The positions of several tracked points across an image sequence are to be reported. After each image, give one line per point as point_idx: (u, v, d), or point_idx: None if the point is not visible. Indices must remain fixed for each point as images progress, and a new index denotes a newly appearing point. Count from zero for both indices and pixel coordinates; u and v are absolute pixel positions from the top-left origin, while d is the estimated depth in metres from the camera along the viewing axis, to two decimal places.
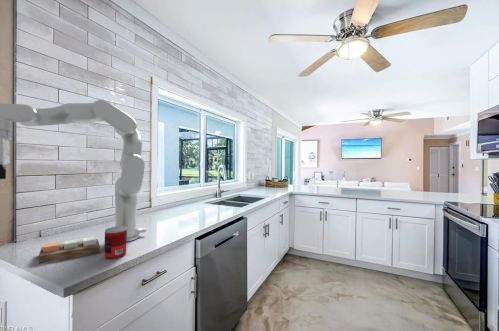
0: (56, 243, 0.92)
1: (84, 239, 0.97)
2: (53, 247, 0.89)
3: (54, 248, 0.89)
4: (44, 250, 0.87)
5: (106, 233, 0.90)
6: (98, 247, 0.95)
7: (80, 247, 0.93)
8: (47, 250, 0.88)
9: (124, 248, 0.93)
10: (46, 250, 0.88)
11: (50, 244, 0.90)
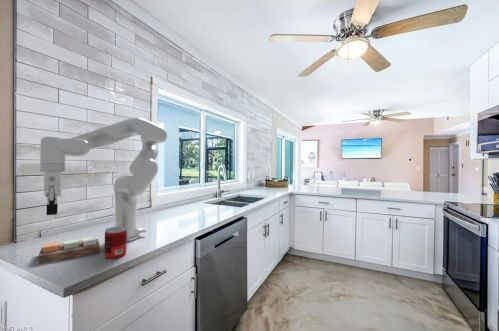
0: (56, 243, 0.92)
1: (84, 239, 0.97)
2: (53, 247, 0.89)
3: (54, 248, 0.89)
4: (44, 250, 0.87)
5: (106, 233, 0.90)
6: (98, 247, 0.95)
7: (80, 247, 0.93)
8: (47, 250, 0.88)
9: (124, 248, 0.93)
10: (46, 250, 0.88)
11: (50, 244, 0.90)
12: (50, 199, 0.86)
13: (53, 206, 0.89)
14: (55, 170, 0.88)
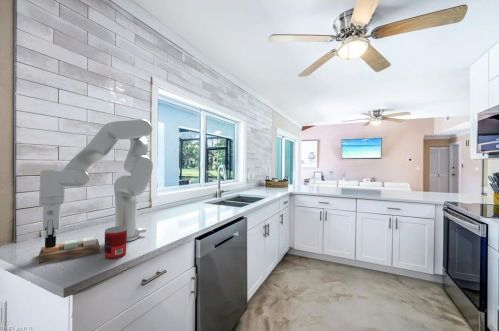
0: (56, 245, 0.92)
1: (84, 239, 0.97)
2: (53, 249, 0.89)
3: (54, 250, 0.89)
4: (44, 252, 0.87)
5: (106, 233, 0.90)
6: (98, 247, 0.95)
7: (80, 247, 0.93)
8: None
9: (124, 248, 0.93)
10: None
11: None
12: (49, 233, 0.86)
13: (51, 239, 0.89)
14: (54, 203, 0.88)
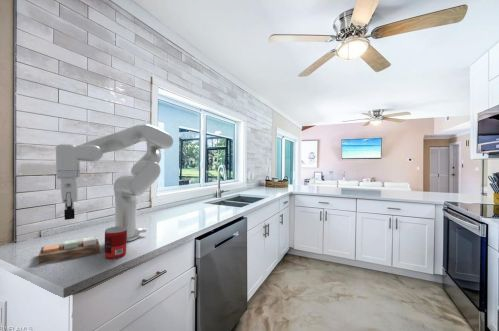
0: (56, 246, 0.92)
1: (84, 239, 0.97)
2: (53, 250, 0.89)
3: (54, 250, 0.89)
4: None
5: (106, 233, 0.90)
6: (98, 247, 0.95)
7: (80, 247, 0.93)
8: None
9: (124, 248, 0.93)
10: None
11: (50, 247, 0.90)
12: (68, 205, 0.89)
13: (70, 211, 0.93)
14: (71, 177, 0.91)
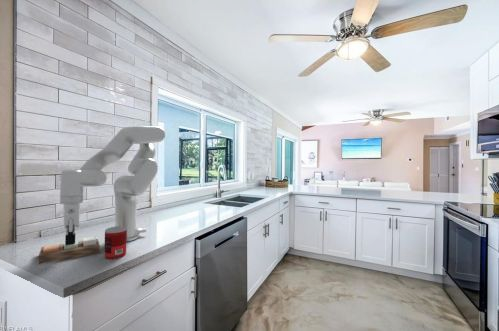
0: (56, 246, 0.92)
1: (84, 239, 0.97)
2: (53, 250, 0.89)
3: (54, 250, 0.89)
4: None
5: (106, 233, 0.90)
6: (98, 247, 0.95)
7: (80, 247, 0.93)
8: None
9: (124, 248, 0.93)
10: None
11: (50, 247, 0.90)
12: (69, 231, 0.89)
13: (71, 236, 0.93)
14: (74, 202, 0.91)
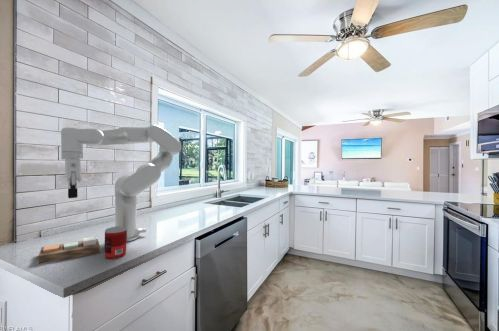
0: (56, 246, 0.92)
1: (84, 239, 0.97)
2: (53, 250, 0.89)
3: (54, 250, 0.89)
4: None
5: (106, 233, 0.90)
6: (98, 247, 0.95)
7: (80, 247, 0.93)
8: None
9: (124, 248, 0.93)
10: None
11: (50, 247, 0.90)
12: (72, 183, 0.96)
13: (74, 190, 0.99)
14: (75, 157, 0.98)
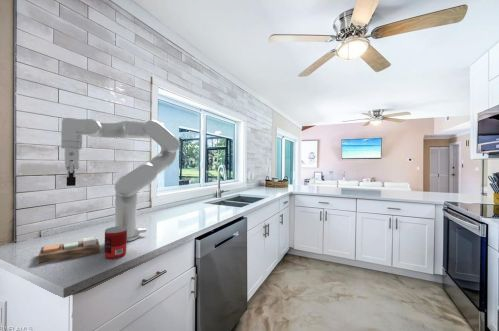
0: (56, 246, 0.92)
1: (84, 239, 0.97)
2: (53, 250, 0.89)
3: (54, 250, 0.89)
4: None
5: (106, 233, 0.90)
6: (98, 247, 0.95)
7: (80, 247, 0.93)
8: None
9: (124, 248, 0.93)
10: None
11: (50, 247, 0.90)
12: (70, 171, 1.00)
13: (72, 178, 1.03)
14: (74, 147, 1.01)
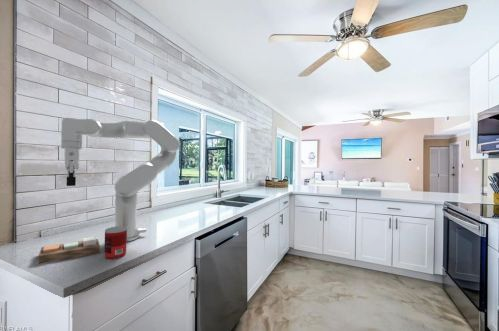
0: (56, 246, 0.92)
1: (84, 239, 0.97)
2: (53, 250, 0.89)
3: (54, 250, 0.89)
4: None
5: (106, 233, 0.90)
6: (98, 247, 0.95)
7: (80, 247, 0.93)
8: None
9: (124, 248, 0.93)
10: None
11: (50, 247, 0.90)
12: (70, 171, 1.00)
13: (72, 178, 1.03)
14: (74, 147, 1.01)
